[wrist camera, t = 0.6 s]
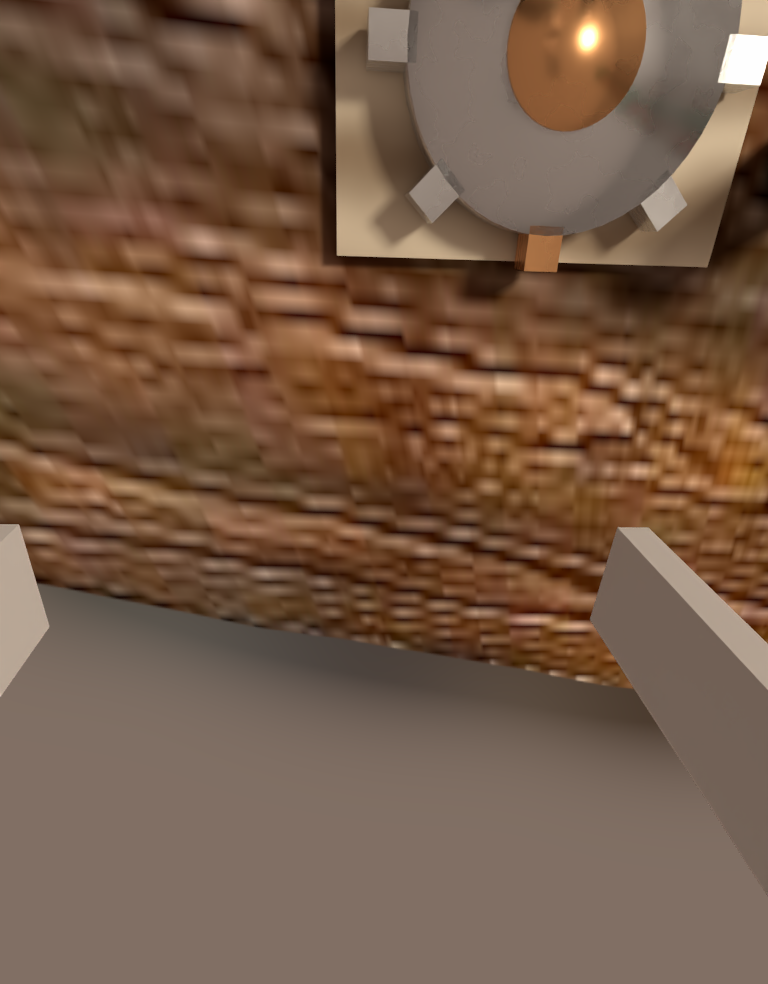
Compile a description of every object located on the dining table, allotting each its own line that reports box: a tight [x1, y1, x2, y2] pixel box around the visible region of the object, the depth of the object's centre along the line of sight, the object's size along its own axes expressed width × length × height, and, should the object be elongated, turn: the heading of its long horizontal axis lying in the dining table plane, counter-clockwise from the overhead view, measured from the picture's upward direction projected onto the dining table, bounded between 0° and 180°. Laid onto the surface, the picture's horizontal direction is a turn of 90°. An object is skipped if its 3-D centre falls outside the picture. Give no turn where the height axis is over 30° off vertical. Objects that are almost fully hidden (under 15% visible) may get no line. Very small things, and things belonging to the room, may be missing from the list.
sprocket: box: [366, 0, 768, 272], centre depth 25 cm, size 21×21×7 cm
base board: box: [335, 0, 768, 267], centre depth 29 cm, size 20×24×1 cm
